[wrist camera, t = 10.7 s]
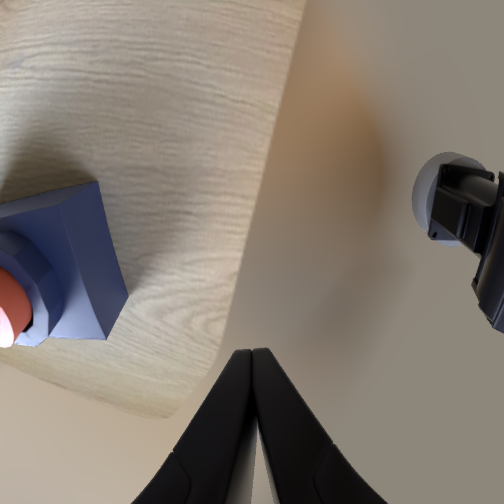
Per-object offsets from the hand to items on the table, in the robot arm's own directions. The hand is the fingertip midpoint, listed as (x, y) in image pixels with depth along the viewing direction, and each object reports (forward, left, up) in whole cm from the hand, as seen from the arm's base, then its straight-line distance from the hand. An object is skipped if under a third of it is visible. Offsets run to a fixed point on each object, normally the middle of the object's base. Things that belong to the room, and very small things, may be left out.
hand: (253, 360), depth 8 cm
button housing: (+15, +3, -13) cm, 20 cm away
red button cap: (+15, +3, -6) cm, 17 cm away
